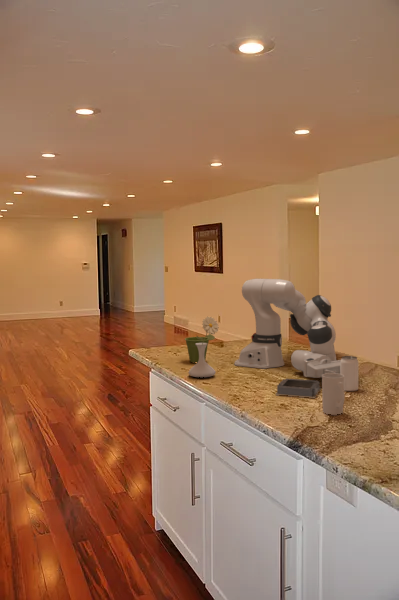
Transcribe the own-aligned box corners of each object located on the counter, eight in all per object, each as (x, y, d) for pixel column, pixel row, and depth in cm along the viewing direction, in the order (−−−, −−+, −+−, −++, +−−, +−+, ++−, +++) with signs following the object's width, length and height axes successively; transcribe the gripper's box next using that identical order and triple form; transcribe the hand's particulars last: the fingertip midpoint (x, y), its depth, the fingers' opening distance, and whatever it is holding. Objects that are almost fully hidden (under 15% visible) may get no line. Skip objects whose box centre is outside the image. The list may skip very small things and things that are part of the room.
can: (359, 391, 197) (359, 359, 196) (340, 391, 198) (340, 358, 197) (357, 387, 203) (357, 355, 202) (339, 386, 204) (339, 355, 203)
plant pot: (214, 363, 251) (213, 339, 250) (190, 365, 247) (189, 341, 246) (204, 358, 262) (204, 335, 261) (181, 361, 258) (181, 337, 257)
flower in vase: (192, 380, 218) (191, 319, 216) (185, 374, 229) (184, 316, 227) (223, 378, 222) (222, 317, 220) (214, 372, 233) (214, 314, 231)
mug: (318, 410, 175) (318, 373, 174) (336, 408, 177) (337, 372, 176) (333, 419, 166) (333, 381, 165) (353, 417, 167) (353, 379, 166)
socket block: (275, 395, 194) (275, 386, 194) (283, 385, 207) (283, 378, 207) (314, 398, 189) (314, 389, 189) (321, 388, 202) (321, 380, 202)
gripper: (340, 370, 221) (365, 377, 209) (300, 376, 212) (324, 384, 200) (340, 354, 221) (365, 361, 209) (300, 360, 211) (324, 367, 199)
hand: (345, 372), depth 204 cm, fingers open, 8 cm apart
